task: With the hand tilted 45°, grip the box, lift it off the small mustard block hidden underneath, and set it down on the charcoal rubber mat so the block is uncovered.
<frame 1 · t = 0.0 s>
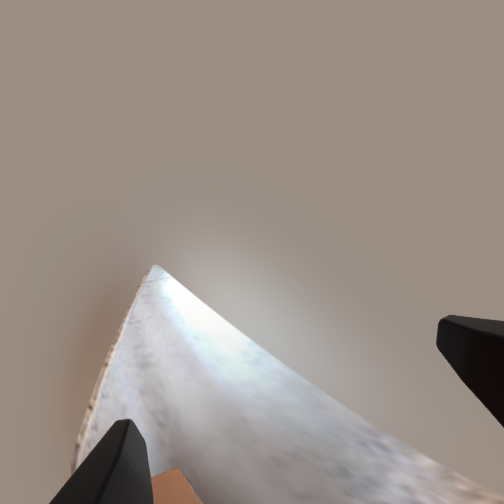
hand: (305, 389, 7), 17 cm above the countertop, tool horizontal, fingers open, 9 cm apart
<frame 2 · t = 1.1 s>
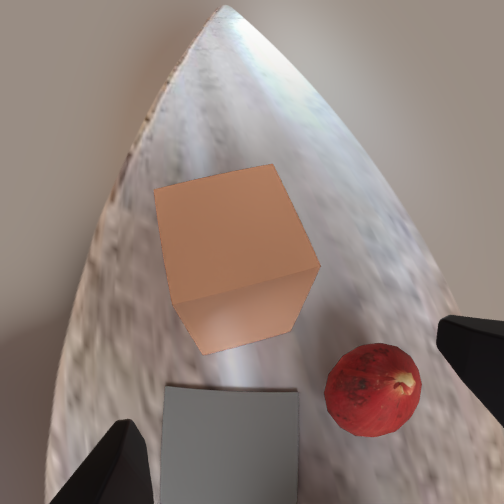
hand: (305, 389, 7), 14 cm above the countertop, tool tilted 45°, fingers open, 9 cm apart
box: (235, 303, 23), on the countertop
onion: (352, 396, 20), on the countertop
mat: (229, 454, 17), on the countertop
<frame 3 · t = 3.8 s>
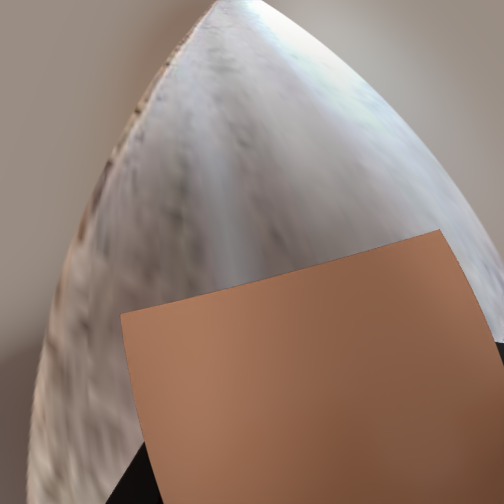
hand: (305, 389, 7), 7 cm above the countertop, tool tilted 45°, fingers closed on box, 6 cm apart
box: (287, 429, 12), on the countertop, touching gripper
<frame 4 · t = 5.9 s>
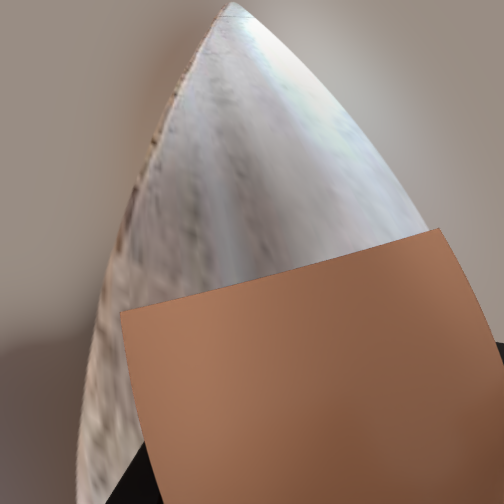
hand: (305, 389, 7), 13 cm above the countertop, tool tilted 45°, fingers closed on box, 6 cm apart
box: (287, 428, 12), point 7 cm above the countertop, touching gripper
when the fingers open (8 cm above the countertop, at t = 8.3 s): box drops 1 cm, resting on mat.
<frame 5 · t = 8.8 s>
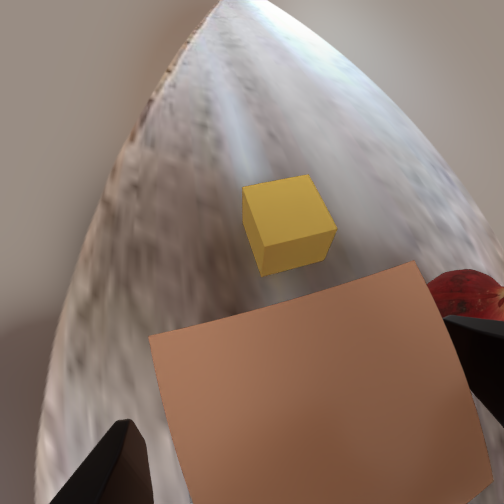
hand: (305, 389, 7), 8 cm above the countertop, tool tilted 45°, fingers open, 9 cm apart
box: (285, 427, 14), resting on mat
onion: (421, 347, 16), on the countertop
block: (282, 241, 20), on the countertop
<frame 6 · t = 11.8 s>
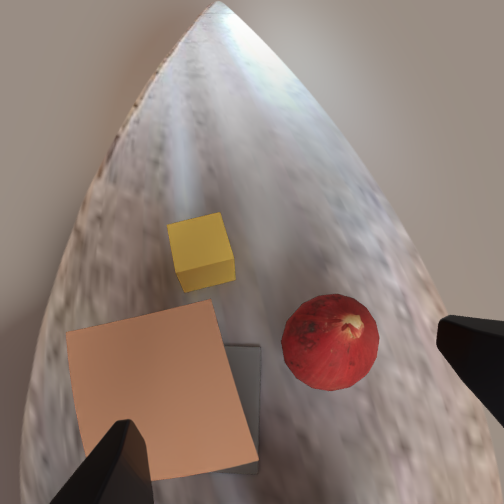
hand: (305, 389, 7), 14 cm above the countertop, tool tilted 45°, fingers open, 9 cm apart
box: (192, 407, 19), resting on mat
onion: (316, 355, 21), on the countertop
block: (204, 264, 25), on the countertop
mat: (191, 407, 19), on the countertop
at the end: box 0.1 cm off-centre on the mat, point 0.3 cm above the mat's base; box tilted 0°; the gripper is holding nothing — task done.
